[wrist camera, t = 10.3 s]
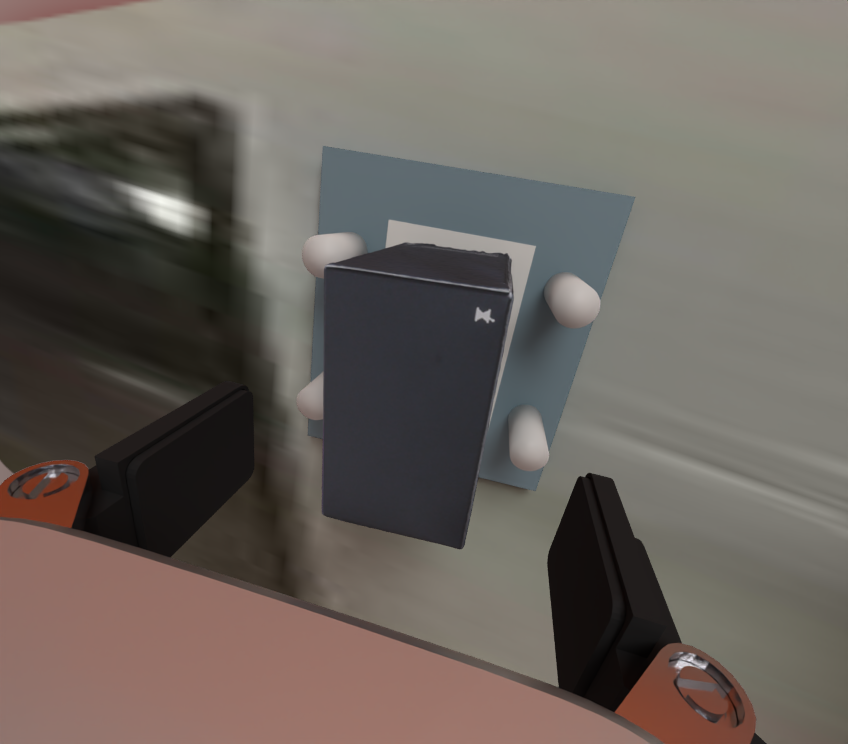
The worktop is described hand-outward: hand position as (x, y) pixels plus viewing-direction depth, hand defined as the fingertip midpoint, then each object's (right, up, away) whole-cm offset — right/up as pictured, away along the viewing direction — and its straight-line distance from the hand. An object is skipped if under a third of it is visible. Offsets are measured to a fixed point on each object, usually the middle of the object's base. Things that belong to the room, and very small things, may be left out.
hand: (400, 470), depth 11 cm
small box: (+2, +5, +13) cm, 14 cm away
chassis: (+2, +5, +13) cm, 15 cm away
